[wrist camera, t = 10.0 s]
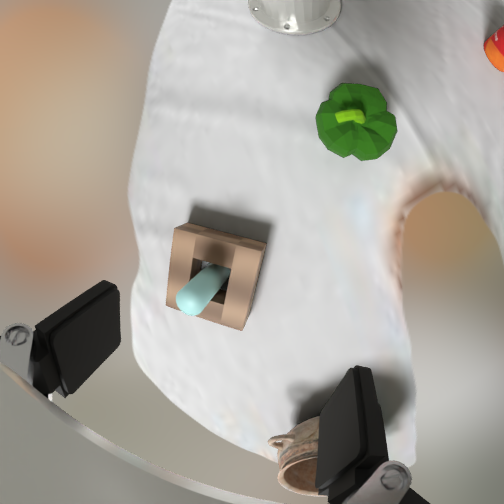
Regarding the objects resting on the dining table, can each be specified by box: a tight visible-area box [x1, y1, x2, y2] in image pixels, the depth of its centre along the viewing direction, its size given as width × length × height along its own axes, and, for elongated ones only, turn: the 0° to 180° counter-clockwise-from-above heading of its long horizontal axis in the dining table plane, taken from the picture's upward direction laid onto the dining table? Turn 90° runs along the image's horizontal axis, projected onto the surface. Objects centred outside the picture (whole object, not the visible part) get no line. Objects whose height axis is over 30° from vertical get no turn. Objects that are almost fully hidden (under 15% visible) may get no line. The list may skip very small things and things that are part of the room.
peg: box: [176, 263, 230, 316], centre depth 32 cm, size 3×3×10 cm
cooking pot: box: [268, 416, 323, 496], centre depth 36 cm, size 25×19×12 cm
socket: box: [166, 223, 267, 331], centre depth 35 cm, size 11×11×4 cm
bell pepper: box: [316, 83, 397, 161], centre depth 24 cm, size 8×8×10 cm
